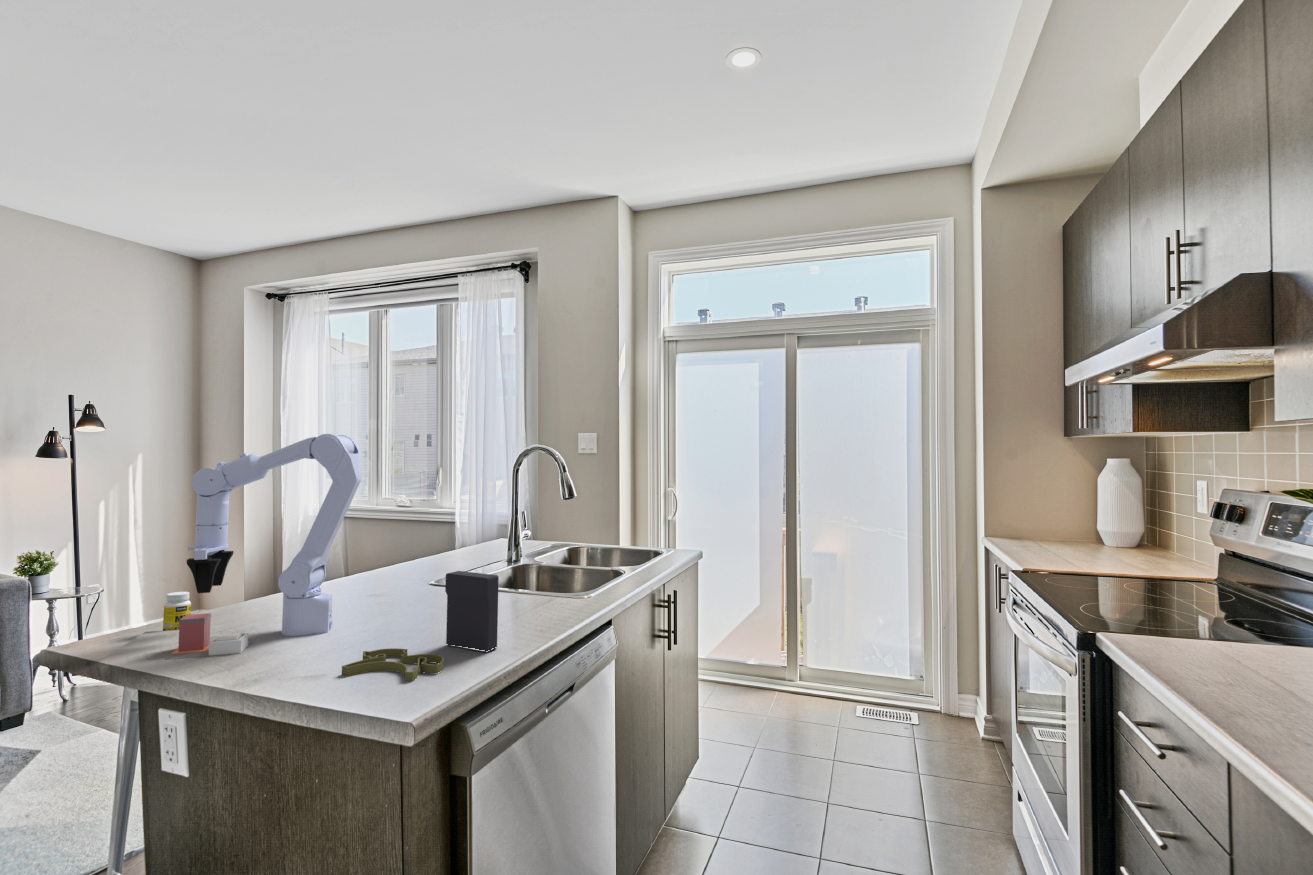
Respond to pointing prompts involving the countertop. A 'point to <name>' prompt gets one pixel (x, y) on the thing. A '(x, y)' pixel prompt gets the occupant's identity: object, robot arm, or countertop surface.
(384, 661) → the cookie cutter
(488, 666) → the countertop surface
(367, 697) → the countertop surface
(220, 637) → the button
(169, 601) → the supplement bottle
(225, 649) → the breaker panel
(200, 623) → the block
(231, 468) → the robot arm
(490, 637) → the charcoal upright slab
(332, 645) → the countertop surface
